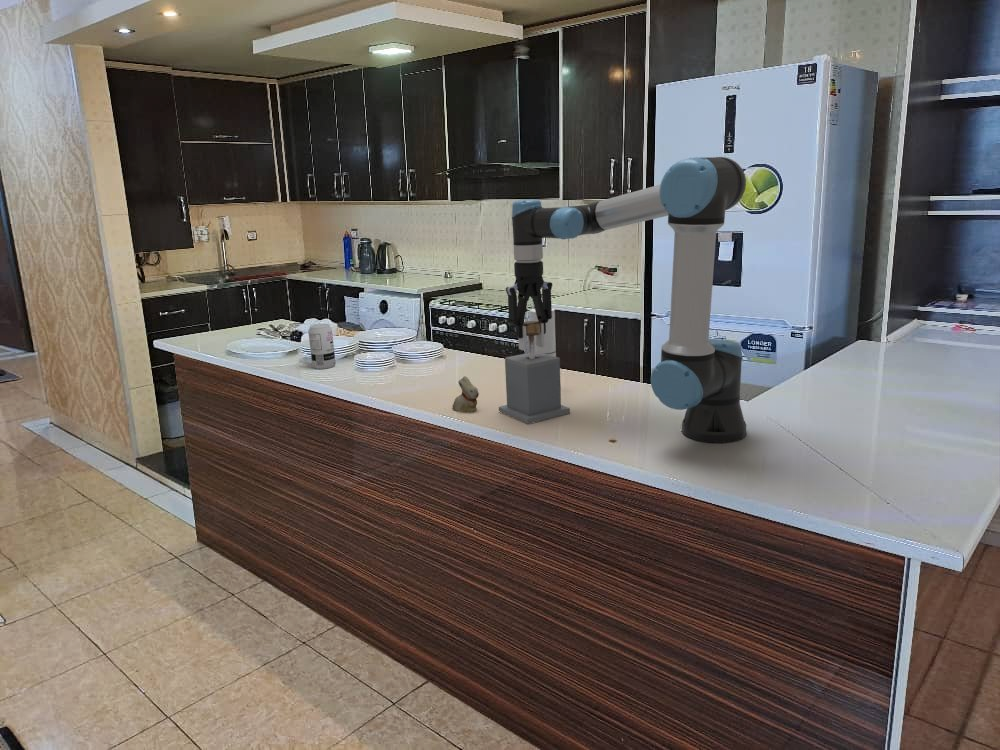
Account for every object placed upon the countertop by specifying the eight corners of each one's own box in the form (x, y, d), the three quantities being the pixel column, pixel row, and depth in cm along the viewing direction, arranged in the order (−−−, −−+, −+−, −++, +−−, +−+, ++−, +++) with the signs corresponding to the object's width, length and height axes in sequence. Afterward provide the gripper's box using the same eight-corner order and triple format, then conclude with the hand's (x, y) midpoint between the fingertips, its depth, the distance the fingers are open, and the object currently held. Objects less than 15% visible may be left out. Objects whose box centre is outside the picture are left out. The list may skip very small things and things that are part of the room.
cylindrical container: (555, 395, 216) (552, 312, 210) (531, 395, 218) (528, 312, 211) (558, 389, 223) (556, 307, 217) (535, 388, 225) (532, 307, 218)
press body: (570, 413, 200) (568, 357, 196) (527, 424, 193) (525, 367, 189) (539, 402, 211) (537, 349, 207) (498, 411, 204) (496, 357, 200)
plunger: (554, 396, 199) (552, 322, 194) (529, 402, 195) (526, 327, 190) (536, 390, 206) (534, 318, 201) (512, 395, 202) (509, 322, 197)
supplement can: (311, 365, 268) (307, 325, 264) (334, 363, 270) (330, 322, 266) (313, 370, 260) (308, 329, 257) (336, 367, 263) (332, 326, 259)
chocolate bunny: (464, 415, 203) (462, 380, 200) (450, 408, 209) (447, 374, 207) (481, 411, 206) (479, 376, 203) (466, 404, 212) (464, 371, 210)
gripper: (547, 256, 199) (550, 340, 205) (491, 263, 190) (495, 351, 196) (564, 258, 193) (566, 344, 199) (507, 265, 183) (511, 355, 189)
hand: (531, 347), depth 197 cm, fingers closed on plunger, 5 cm apart
